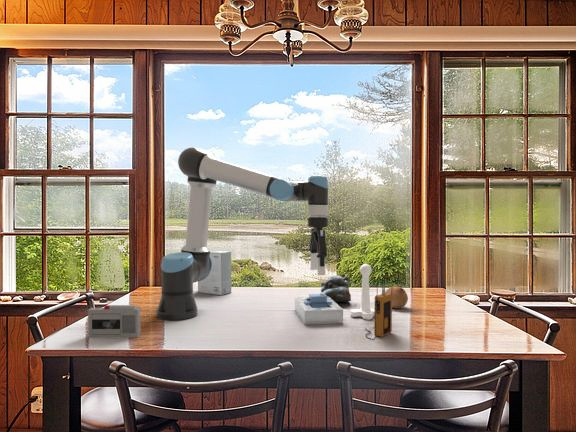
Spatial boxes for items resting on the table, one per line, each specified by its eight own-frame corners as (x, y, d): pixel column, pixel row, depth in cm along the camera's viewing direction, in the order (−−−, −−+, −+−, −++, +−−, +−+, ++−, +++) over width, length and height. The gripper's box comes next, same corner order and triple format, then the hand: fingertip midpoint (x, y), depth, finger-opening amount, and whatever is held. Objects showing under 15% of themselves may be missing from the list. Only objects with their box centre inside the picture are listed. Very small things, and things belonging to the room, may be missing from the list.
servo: (305, 318, 161) (306, 294, 160) (303, 314, 165) (303, 292, 165) (331, 317, 162) (332, 294, 162) (329, 314, 166) (329, 291, 166)
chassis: (304, 324, 152) (304, 310, 152) (294, 309, 173) (294, 297, 173) (343, 323, 154) (343, 309, 154) (328, 308, 175) (328, 296, 175)
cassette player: (88, 337, 136) (88, 306, 136) (91, 335, 139) (91, 304, 139) (137, 337, 137) (137, 306, 136) (140, 335, 139) (140, 304, 139)
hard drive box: (232, 293, 206) (232, 251, 206) (221, 295, 200) (221, 253, 199) (207, 289, 214) (207, 249, 214) (197, 292, 208) (196, 251, 207)
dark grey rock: (312, 303, 184) (312, 272, 190) (328, 310, 192) (327, 280, 199) (343, 297, 176) (341, 265, 182) (357, 304, 184) (355, 274, 190)
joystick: (378, 314, 166) (378, 263, 166) (383, 319, 159) (384, 265, 158) (349, 314, 166) (350, 263, 165) (353, 320, 158) (354, 266, 158)
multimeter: (370, 325, 152) (371, 268, 151) (396, 330, 145) (397, 271, 145) (348, 334, 140) (349, 273, 140) (376, 340, 134) (376, 277, 133)
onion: (404, 316, 175) (413, 296, 171) (382, 310, 175) (390, 290, 171) (400, 303, 184) (409, 284, 180) (379, 297, 184) (388, 278, 180)
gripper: (335, 217, 151) (335, 277, 151) (320, 215, 176) (320, 267, 176) (314, 217, 150) (314, 278, 150) (302, 215, 174) (302, 267, 175)
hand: (317, 272), depth 163 cm, fingers open, 13 cm apart
